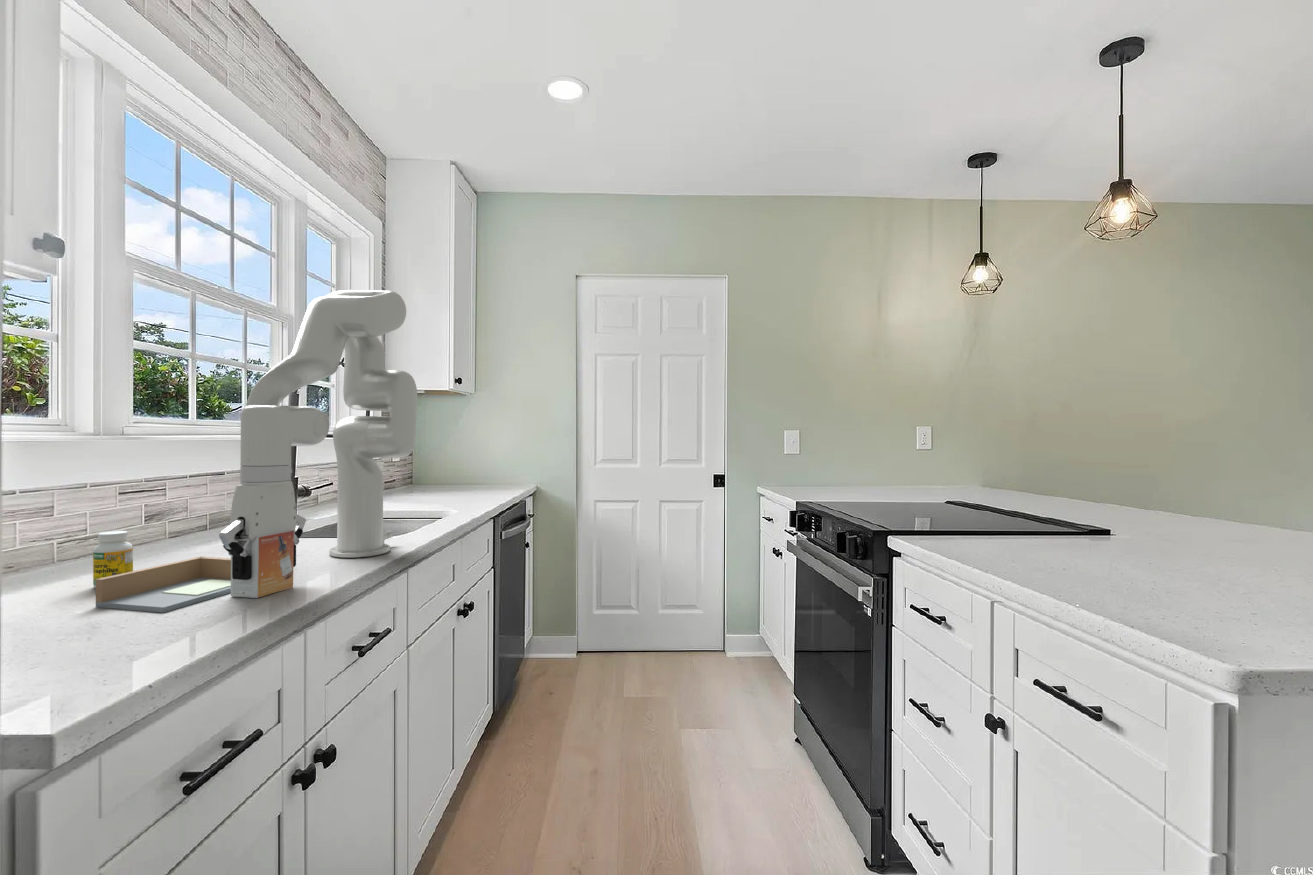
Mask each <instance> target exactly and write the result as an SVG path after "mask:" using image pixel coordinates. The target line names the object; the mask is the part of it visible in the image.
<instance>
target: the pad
mask: <svg viewBox="0 0 1313 875" xmlns="http://www.w3.org/2000/svg"><path fill="white" fill-rule="evenodd" d="M230 586H231V581H228V580H214V579H210V580H206V581H202V582H199V583H195V584H191V585H187V586H183V587H180V588H176V589H172V590H168V591H164V592H162V593H166V594H179V595H192V596H199V595H202V594H206V593H209V592H213V591H216V590H220V589H223V588H227V587H230Z"/></svg>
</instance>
